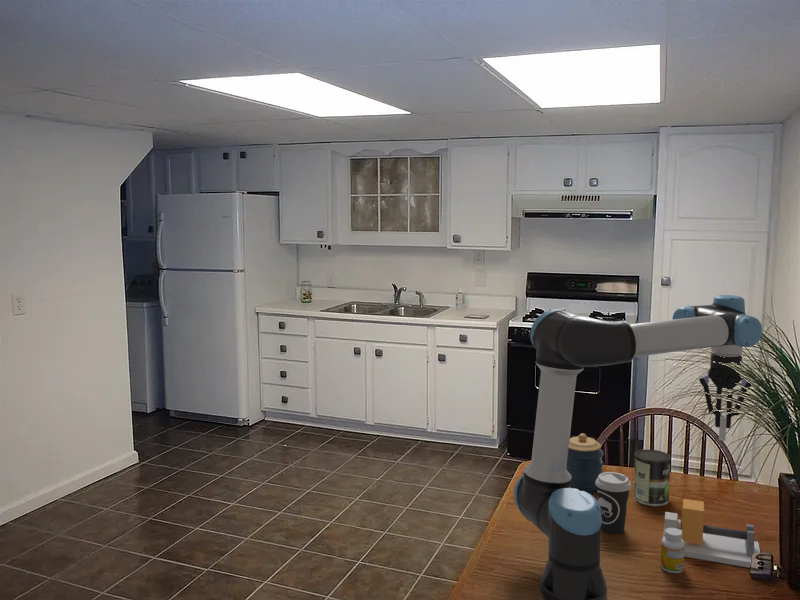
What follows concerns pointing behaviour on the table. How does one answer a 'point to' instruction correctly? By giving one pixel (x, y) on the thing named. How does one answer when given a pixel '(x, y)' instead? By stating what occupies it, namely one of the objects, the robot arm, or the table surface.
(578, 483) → the canister
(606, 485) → the coffee cup
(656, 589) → the table surface
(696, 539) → the orange rectangular block
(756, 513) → the table surface
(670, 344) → the robot arm
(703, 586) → the table surface
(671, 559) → the supplement bottle
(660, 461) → the coffee can
